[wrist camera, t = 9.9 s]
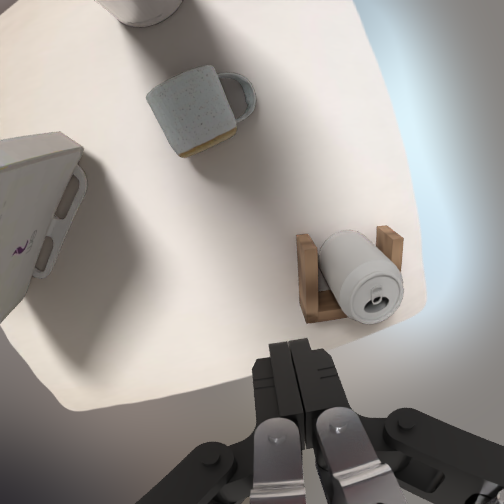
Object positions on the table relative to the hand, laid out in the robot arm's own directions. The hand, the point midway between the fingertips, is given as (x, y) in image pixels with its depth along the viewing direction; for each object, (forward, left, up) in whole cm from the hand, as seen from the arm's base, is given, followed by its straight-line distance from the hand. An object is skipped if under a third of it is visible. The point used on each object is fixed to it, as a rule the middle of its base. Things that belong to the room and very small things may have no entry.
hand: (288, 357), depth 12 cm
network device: (-1, -29, -29) cm, 40 cm away
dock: (+11, +11, -28) cm, 32 cm away
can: (+9, +11, -29) cm, 32 cm away
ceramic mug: (-11, -4, -29) cm, 31 cm away
